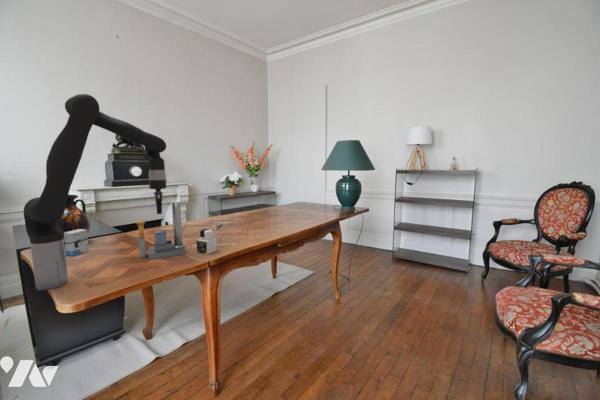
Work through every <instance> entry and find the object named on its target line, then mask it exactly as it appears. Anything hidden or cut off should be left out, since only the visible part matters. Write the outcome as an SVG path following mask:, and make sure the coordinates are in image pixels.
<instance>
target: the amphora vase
mask: <svg viewBox="0 0 600 400" xmlns="http://www.w3.org/2000/svg"><path fill="white" fill-rule="evenodd" d="M78 198H79V196H78V195H77V194H68V198H67V203H66V208H65V212H64V214H63V216H62V217H61V218H60V219H59V220H58V221H57V223H58V226H59V228H60V229H61V230H62V232H63V236H64V233H65V232H69V231H73V230H77V229H85V230H87V234H88V235H89V233H90V231H91V221H90V219H89V218H88V216H87V209H86V208H87V207H86V203H85V202H84V200H83V199H80V198H79V199H78ZM79 202H80V204H81V206H82V209H81V208H79V207H78V206H77V203H79ZM64 246H65V240H64Z"/></svg>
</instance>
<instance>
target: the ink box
mask: <svg viewBox="0 0 600 400" xmlns="http://www.w3.org/2000/svg"><path fill="white" fill-rule="evenodd" d="M88 235H89V233H88V234H87V230H85V229H77V230H73V231H69V232H65V233H64V240H65V256H69V257H75V256H78V255H82V254H83V253H87V252H89V251H90V249H89V247H90V246H89V237H88Z"/></svg>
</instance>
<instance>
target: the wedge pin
mask: <svg viewBox="0 0 600 400" xmlns="http://www.w3.org/2000/svg"><path fill="white" fill-rule="evenodd" d="M145 224H146V221H145V220H137V221H136V225H137V228H138V229H137V231H138V240H139V239H140V238H144V236H145V226H144V225H145ZM145 238H146V237H145ZM145 238H144V240H145V241H146V239H145Z"/></svg>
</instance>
